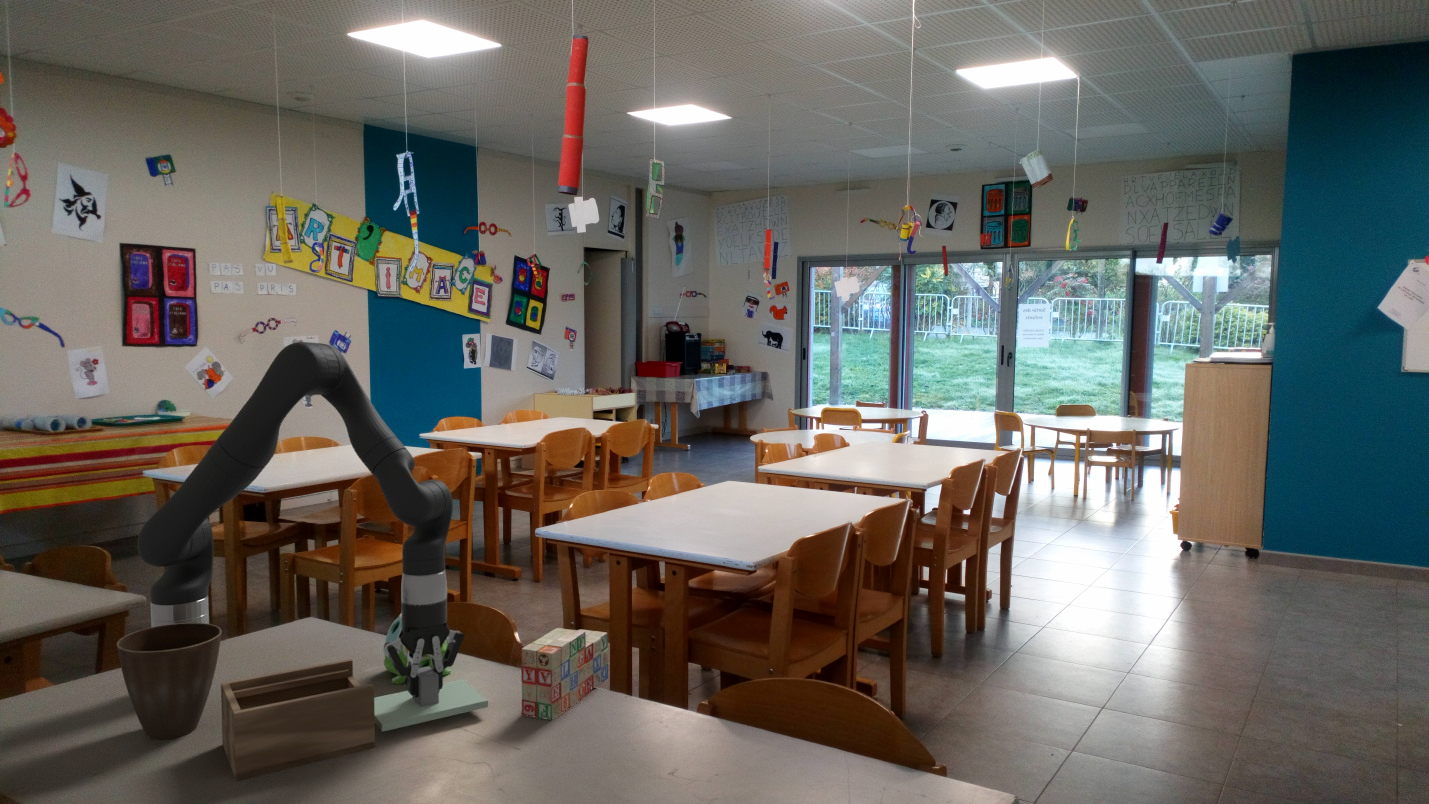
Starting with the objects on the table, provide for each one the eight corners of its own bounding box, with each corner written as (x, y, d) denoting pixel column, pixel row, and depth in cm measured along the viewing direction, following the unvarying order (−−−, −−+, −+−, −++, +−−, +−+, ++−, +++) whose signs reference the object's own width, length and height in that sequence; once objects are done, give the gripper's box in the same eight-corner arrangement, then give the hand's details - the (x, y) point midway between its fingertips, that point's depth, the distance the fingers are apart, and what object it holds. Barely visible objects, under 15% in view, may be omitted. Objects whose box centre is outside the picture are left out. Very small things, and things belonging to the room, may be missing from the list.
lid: (362, 706, 159) (362, 671, 158) (463, 685, 169) (463, 652, 169) (382, 731, 149) (381, 694, 148) (488, 706, 159) (487, 672, 159)
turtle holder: (405, 698, 167) (404, 635, 166) (375, 669, 181) (374, 610, 180) (470, 684, 174) (469, 622, 173) (436, 657, 189) (435, 600, 188)
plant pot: (217, 704, 163) (214, 617, 162) (230, 734, 151) (227, 640, 150) (117, 724, 154) (114, 632, 153) (122, 758, 142) (119, 657, 141)
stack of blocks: (580, 674, 180) (580, 613, 179) (608, 679, 178) (609, 617, 177) (521, 716, 160) (520, 647, 159) (552, 721, 158) (552, 652, 157)
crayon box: (222, 744, 147) (220, 682, 147) (352, 715, 159) (351, 658, 158) (236, 780, 135) (234, 713, 135) (374, 747, 147) (374, 685, 146)
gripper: (456, 585, 165) (457, 679, 166) (376, 597, 157) (377, 695, 158) (471, 595, 159) (472, 692, 160) (388, 608, 150) (390, 710, 152)
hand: (425, 693), depth 159 cm, fingers closed on lid, 3 cm apart
